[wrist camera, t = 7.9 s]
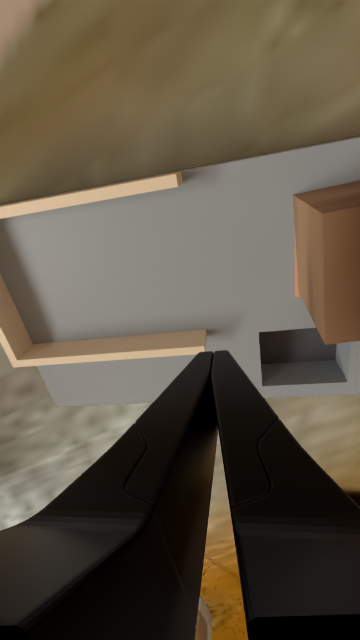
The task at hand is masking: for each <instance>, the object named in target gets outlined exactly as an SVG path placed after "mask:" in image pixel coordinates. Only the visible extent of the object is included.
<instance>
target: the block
mask: <svg viewBox="0 0 360 640" xmlns="http://www.w3.org/2000/svg"><path fill="white" fill-rule="evenodd" d="M293 206H294V223H295V239H296V256H297V272H298V289H299V295H300V297H301V299H302V301H303V303H304V305H305V306H306V308H307V310H308V312H309V314H310V316H311V318H312V320H313V322H314V324H315V326H316V328H317V330H318V332H319V333H320V335H321V337H322V339H323V341H324V343H325V345H328V344H337V343H345V342H354V341H360V180H359V181H354V182H350V183H345V184H341V185H336V186H331V187H327V188H322V189H318V190H313V191H308V192H304V193H299V194H295V195H293Z"/></svg>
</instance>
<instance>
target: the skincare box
mask: <svg viewBox="0 0 360 640" xmlns="http://www.w3.org/2000/svg"><path fill="white" fill-rule="evenodd" d="M195 628H196V634H195V640H211V633H212V617H211V614H210V612H209V610H208V608H207V606H206V604H205V602H204V600H203V598H202V597H201V596H200V597H199V606H198V615H197V624H196V626H195Z"/></svg>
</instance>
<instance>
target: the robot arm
mask: <svg viewBox="0 0 360 640" xmlns="http://www.w3.org/2000/svg"><path fill="white" fill-rule="evenodd" d="M135 423H136V424H135ZM135 423H134V424H133V425H132V426H131V427H130V428H129V429H128V430H127V431H126V432H125V433H124V434H123V435H122V436H121V437H120V439H119V440H118V441H117V442H116V443H115V444H114V445H113V446H112V447H111V448H110V449H109V450H108V451H107V452H106V453H104V454H103V455H102V456H101V457H100V458H99V459H98V460H97V461H96V462H95V463H94V464H93V465H92V466H90V467H89V468H88V469H87V470H86V471H85V472H84V473H83V474H82V475H81V476H79V477H78V478H77V479H76V480H75V481H74V482H73V483H72V484H71V485H69V486H68V487H67V488H66V489H65V490H64V491H63V492H62V493H61V494H59V495H58V496H57V497H56V498H55V499H54V500H53V501H52V502H51V503H49V504H48V505H47V506H46V507H45V508H43V509H42V510H41V511H39V512H38V513H37V514H35V515H34V516H32V517H31V518H29V519H27V520H26V521H24V522H22V523H19V524H17V525H15V526H13V527H10V528H7V529H4V530H1V531H0V640H195V634H196V628H195V626H196V624H197V615H198V606H199V597H200V588H201V579H202V570H203V561H204V552H205V543H206V534H207V526H208V517H209V508H210V499H211V490H212V481H213V472H214V463H215V454H216V445H217V435H218V431H219V437H220V444H221V451H222V458H223V464H224V471H225V478H226V485H227V491H228V498H229V505H230V511H231V518H232V525H233V532H234V539H235V546H236V553H237V561H238V568H239V575H240V582H241V590H242V597H243V604H244V612H245V619H246V626H247V633H248V640H360V500H353V499H351V498H350V497H349V496H348V495H347V494H346V493H345V492H344V491H343V490H342V489H341V488H340V487H339V485H338V484H337V483H336V482H335V481H334V480H333V479H332V478H331V477H330V476H329V475H328V474H327V473H326V472H325V471H324V470H323V469H322V468H321V467H320V466H319V465H318V464H317V463H316V462H315V461H314V460H313V459H312V458H311V456H310V455H309V454H308V453H307V452H306V451H305V450H304V449H303V448H302V447H301V446H300V444H299V443H298V442H297V441H296V439H295V438H294V437H293V436H292V434H291V433H290V432H289V431H288V429H287V428H286V427H285V425H284V424H283V423H282V421H281V420H279V418H278V416H277V415H276V414H275V412H274V411H273V410H272V408H271V407H270V406H269V404H268V403H267V402H266V400H265V399H264V398H263V396H262V395H261V394H260V392H259V391H258V390H257V388H256V387H255V386H254V384H253V383H252V382H251V380H250V379H249V378H248V376H247V375H246V374H245V372H244V371H243V370H242V368H241V367H240V366H239V364H238V363H237V362H236V360H235V359H234V358H233V356H232V355H231V354H230V352H229V351H228V350H219V351H214V353H213V352H212V351H205V352H199V353H198V354H197V355H196V356H195V357H194V358H193V359H192V360H191V361H190V362H189V364H188V365H187V366H186V367H185V368H184V369H183V370H182V371H181V372H180V373H179V375H178V376H177V377H176V378H175V379H174V380H173V381H172V382H171V383H170V384H169V385H168V387H167V388H166V389H165V390H164V391H163V392H162V393H161V394H160V395H159V396H158V397H157V399H156V400H155V401H154V402H153V403H152V404H151V405H150V406H149V407H148V408H147V409H146V411H145V412H144V413H143V414H142V415H141V416H140V417H139V418H138V419H137V420H136V422H135Z"/></svg>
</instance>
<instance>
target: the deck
mask: <svg viewBox="0 0 360 640" xmlns="http://www.w3.org/2000/svg"><path fill="white" fill-rule="evenodd" d="M359 180H360V136H357V137H352V138H346V139H341V140H336V141H331V142H326V143H320V144H315V145H310V146H305V147H299V148H294V149H289V150H284V151H278V152H273V153H268V154H263V155H257V156H252V157H247V158H242V159H236V160H231V161H226V162H221V163H215V164H210V165H205V166H200V167H194V168H189V169H184V170H179V171H174V172H168V173H163V174H158V175H153V176H147V177H142V178H137V179H132V180H126V181H121V182H116V183H111V184H105V185H100V186H95V187H90V188H84V189H79V190H74V191H69V192H63V193H58V194H53V195H48V196H42V197H37V198H32V199H27V200H21V201H16V202H11V203H6V204H1V205H0V343H1V344H2V346H3V348H4V350H5V352H6V354H7V356H8V358H9V360H10V362H11V364H12V366H13V367H27V366H37V368H38V370H39V372H40V375H41V377H42V379H43V381H44V383H45V385H46V387H47V389H48V391H49V394H50V396H51V398H52V400H53V402H54V404H55V406H56V407H65V406H89V405H113V404H137V403H153V402H154V401H155V400H156V399H157V397H158V396H159V395H160V394H161V393H162V392H163V391H164V390H165V389H166V388H167V387H168V385H169V384H170V383H171V382H172V381H173V380H174V379H175V378H176V377H177V376H178V375H179V373H180V372H181V371H182V370H183V369H184V368H185V367H186V366H187V365H188V364H189V362H190V361H191V360H192V359H193V358H194V357H195V356H196V355H197V354H198V353H199V352H205V351H212V352H213V353H214V351H219V350H228V351H229V352H230V354H231V355H232V356H233V358H234V359H235V360H236V362H237V363H238V364H239V366H240V367H241V368H242V370H243V371H244V372H245V374H246V375H247V376H248V378H249V379H250V380H251V382H252V383H253V384H254V386H255V387H256V388H257V390H258V391H259V392H260V394H261V395H262V396H263V398H282V397H306V396H330V395H354V394H360V341H354V342H345V343H337V344H328V345H325V343H324V341H323V339H322V337H321V335H320V333H319V332H318V330H317V328H316V326H315V324H314V322H313V320H312V318H311V316H310V314H309V312H308V310H307V308H306V306H305V305H304V303H303V301H302V299H301V297H295V223H294V206H293V195H295V194H299V193H304V192H308V191H313V190H318V189H322V188H327V187H331V186H336V185H341V184H345V183H350V182H354V181H359Z"/></svg>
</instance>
